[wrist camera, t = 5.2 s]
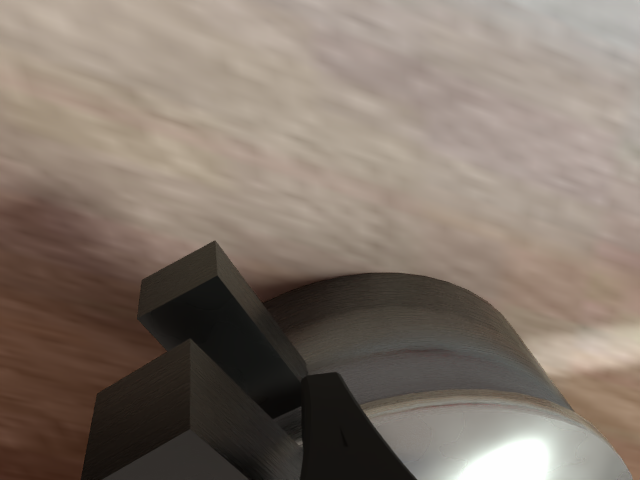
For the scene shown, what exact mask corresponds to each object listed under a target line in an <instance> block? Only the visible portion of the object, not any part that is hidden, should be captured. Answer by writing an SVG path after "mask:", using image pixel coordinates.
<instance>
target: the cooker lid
mask: <svg viewBox="0 0 640 480" xmlns="http://www.w3.org/2000/svg"><path fill="white" fill-rule="evenodd" d="M360 407H361V408H362V410H363V411H364V413H365V414H366V416H367V417H368V418H369V420H370V421H371V423H372V424H373V425H374V427H375V428H376V430H377V431H378V432H379V433H380V435H381V436H382V437H383V439H384V440H385V441H386V442H387V444H388V445H389V446H390V448H391V449H392V450H393V452H394V453H395V454H396V455H397V456H398V458H399V459H400V460H401V461H402V463H403V464H404V465H405V466H406V467H407V468H408V470H409V471H410V472H411V473H412V474H413V475H414V476H415V478H416V479H417V480H633V479H632V476H631V474H630V472H629V470H628V469H627V467H626V465H625V463H624V462H623V460H622V459H621V457H620V456H619V455H618V453H617V452H616V451H615V449H614V448H613V447H612V445H611V444H610V443H609V441H608V440H607V439H606V438H605V437H604V435H603V434H602V433H601V432H600V431H599V430H598V429H597V428H596V427H595V426H594V425H593V424H592V423H590V422H589V421H587V420H586V419H584V418H583V417H581V416H580V415H578V414H577V413H575V412H574V411H572V410H570V409H567V408H565V407H563V406H560V405H558V404H555V403H553V402H551V401H548V400H544V399H541V398H537V397H533V396H529V395H525V394H521V393H513V392H505V391H497V390H488V389H450V390H439V391H429V392H419V393H411V394H406V395H401V396H396V397H391V398H386V399H380V400H375V401H372V402H368V403H365V404H361V405H360ZM302 460H303V444H302V425H301V426H298V427H296V428H294V429H292V430H290V431H288V432H285V431H284V430H283V429H282V428H281V427H280V426H279V425H278V424H277V423H276V422H275V421H274V420H273V419H272V418H271V417H270V416H269V415H268V414H267V413H266V412H265V411H264V410H263V409H262V408H261V407H260V406H259V405H258V404H257V403H256V402H255V401H254V400H253V399H252V398H251V397H249V396H248V395H247V394H246V393H245V392H244V391H243V390H242V389H241V388H240V387H239V386H238V385H237V384H236V383H235V382H234V381H233V380H232V379H231V378H230V377H229V376H228V375H227V374H226V373H225V372H224V371H223V370H222V369H221V368H220V367H219V366H218V365H217V364H216V363H215V362H214V361H213V360H212V359H211V358H210V357H209V356H208V355H207V354H206V353H205V352H204V351H203V350H202V349H201V348H200V347H199V346H198V345H197V344H196V343H195V342H194V341H193V340H192V339H191V338H190V339H188V340H186V341H185V342H183V343H181V344H180V345H178V346H176V347H175V348H173V349H171V350H170V351H168V352H166V353H165V354H163V355H161V356H159V357H158V358H156V359H154V360H153V361H151V362H149V363H148V364H146V365H144V366H143V367H141V368H139V369H138V370H136V371H134V372H133V373H131V374H129V375H128V376H126V377H124V378H123V379H121V380H119V381H118V382H116V383H114V384H113V385H111V386H109V387H108V388H106V389H104V390H102V391H101V392H99V393H97V397H96V402H95V407H94V412H93V418H92V423H91V428H90V434H89V439H88V444H87V449H86V455H85V460H84V465H83V471H82V476H81V480H300V475H301V468H302Z"/></svg>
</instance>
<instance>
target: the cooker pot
mask: <svg viewBox="0 0 640 480" xmlns="http://www.w3.org/2000/svg"><path fill="white" fill-rule="evenodd" d="M137 319H138V320H139V321H140V322H141V323H142V324H143V325H144V327H145V328H146V329H147V330H148V331H149V332H150V333H151V334H152V335H153V336H154V337H155V338H156V339H157V340H158V341H159V343H160V344H161V345H162V346H163V347H164V348H165V349H166V350H167V351H170V350H171V349H173V348H175V347H176V346H178V345H180V344H181V343H183V342H185V341H186V340H188V339H190V338H191V339H192V340H193V341H194V342H195V343H196V344H197V345H198V346H199V347H200V348H201V349H202V350H203V351H204V352H205V353H206V354H207V355H208V356H209V357H210V358H211V359H212V360H213V361H214V362H215V363H216V364H217V365H218V366H219V367H220V368H221V369H222V370H223V371H224V372H225V373H226V374H227V375H228V376H229V377H230V378H231V379H232V380H233V381H234V382H235V383H236V384H237V385H238V386H239V387H240V388H241V389H242V390H243V391H244V392H245V393H246V394H247V395H248V396H249V397H251V398H252V399H253V400H254V401H255V402H256V403H257V404H258V405H259V406H260V407H261V408H262V409H263V410H264V411H265V412H266V413H267V414H268V415H269V416H270V417H271V418H272V419H273V420H274V421H275V422H276V423H277V424H278V425H279V426H280V427H281V428H282V429H283V430H284V431H285V432H288V431H290V430H292V429H294V428H296V427H298V426H301V380H302V379H303V378H304V377H305V376H306V375H314V374H322V373H330V372H337V373H339V374H340V375H341V376H342V378H343V380H344V381H345V383H346V385H347V387H348V388H349V390H350V391H351V393H352V395H353V396H354V398H355V399H356V401H357V402H358V404H359V405H361V404H365V403H368V402H372V401H375V400H380V399H386V398H391V397H396V396H401V395H406V394H411V393H419V392H429V391H439V390H450V389H488V390H497V391H505V392H513V393H521V394H525V395H529V396H533V397H537V398H541V399H544V400H548V401H551V402H553V403H555V404H558V405H560V406H563V407H565V408H567V409H570V410H572V411H574V410H573V409H572V408H571V406H570V405H569V404H568V402H567V401H566V399H565V398H564V397H563V395H562V394H561V393H560V391H559V390H558V389H557V387H556V386H555V384H554V383H553V382H552V380H551V379H550V378H549V376H548V375H547V374H546V372H545V371H544V370H543V368H542V367H541V365H540V364H539V363H538V361H537V360H536V359H535V357H534V356H533V355H532V353H531V352H530V350H529V349H528V348H527V346H526V345H525V344H524V342H523V341H522V340H521V338H520V337H519V335H518V334H517V333H516V331H515V330H514V329H513V327H512V326H511V325H510V324H509V322H508V321H507V320H506V319H505V317H504V316H503V315H502V314H501V313H500V312H499V311H498V310H497V309H495V308H494V307H493V306H492V305H491V304H490V303H488V302H487V301H486V300H484V299H482V298H481V297H479V296H477V295H476V294H474V293H472V292H471V291H469V290H466V289H464V288H461V287H459V286H456V285H454V284H452V283H449V282H445V281H441V280H437V279H433V278H429V277H425V276H418V275H409V274H401V273H370V274H361V275H353V276H344V277H339V278H335V279H330V280H326V281H321V282H317V283H313V284H310V285H307V286H304V287H301V288H298V289H295V290H292V291H289V292H287V293H284V294H282V295H280V296H278V297H276V298H273V299H271V300H269V301H267V302H265V303H263V304H262V303H261V301H260V300H259V299H258V297H257V296H256V295H255V293H254V292H253V291H252V289H251V288H250V286H249V285H248V284H247V282H246V281H245V280H244V278H243V277H242V276H241V274H240V273H239V272H238V270H237V269H236V268H235V266H234V265H233V264H232V262H231V261H230V260H229V258H228V257H227V255H226V254H225V253H224V251H223V250H222V249H221V247H220V246H219V245H218V243H217V242H216V241H213V242H211V243H209V244H207V245H206V246H204V247H202V248H200V249H198V250H196V251H194V252H193V253H191V254H189V255H187V256H185V257H183V258H182V259H180V260H178V261H176V262H174V263H172V264H171V265H169V266H167V267H165V268H163V269H161V270H159V271H158V272H156V273H154V274H152V275H150V276H148V277H147V278H145V279H143V280H142V283H141V291H140V299H139V307H138V314H137Z"/></svg>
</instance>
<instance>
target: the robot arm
mask: <svg viewBox="0 0 640 480" xmlns="http://www.w3.org/2000/svg"><path fill="white" fill-rule="evenodd" d="M301 425H302V444H303V460H302V468H301V475H300V480H417V479H416V478H415V476H414V475H413V474H412V473H411V472H410V471H409V470H408V468H407V467H406V466H405V465H404V464H403V463H402V461H401V460H400V459H399V458H398V456H397V455H396V454H395V453H394V452H393V450H392V449H391V448H390V446H389V445H388V444H387V442H386V441H385V440H384V439H383V437H382V436H381V435H380V433H379V432H378V431H377V430H376V428H375V427H374V425H373V424H372V423H371V421H370V420H369V418H368V417H367V416H366V414H365V413H364V411H363V410H362V408H361V407H360V405H359V404H358V402H357V401H356V399H355V398H354V396H353V395H352V393H351V391H350V390H349V388H348V387H347V385H346V383H345V381H344V380H343V378H342V376H341V375H340V374H339V373H337V372H330V373H322V374H314V375H306V376H305V377H304V378H303V379H302V380H301Z"/></svg>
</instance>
